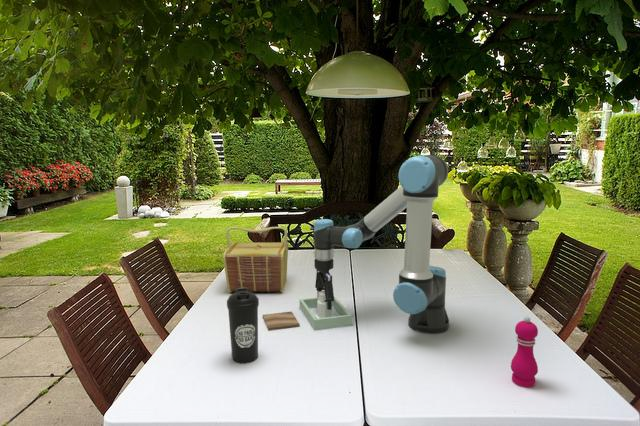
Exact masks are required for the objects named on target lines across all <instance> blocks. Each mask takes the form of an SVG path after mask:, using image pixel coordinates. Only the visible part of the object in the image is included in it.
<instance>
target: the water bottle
mask: <svg viewBox="0 0 640 426" xmlns="http://www.w3.org/2000/svg"><path fill="white" fill-rule="evenodd" d="M259 304H260V303H259V297H258V296H257V295H256V294H255V292H249V291H248V289H247V287H241V288H236V292H233V293H232V294H231V295H229V296H228V298H227V300H226V308H227V310H228V322H229V333H230V334H229V335H230V336H229V337H230V347H231V360H232V361H233V362H235V363H237V364H249V363H252V362H254V361H257V359H258V357H259V318H258V317H259V316H258V315H259V310H258V309H259V306H260V305H259Z"/></svg>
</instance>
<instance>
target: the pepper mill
mask: <svg viewBox="0 0 640 426" xmlns="http://www.w3.org/2000/svg"><path fill="white" fill-rule="evenodd" d="M514 332H515V335H516V337H515V338H516V343H517V349H516V352H515V354H514V356H513V358H512V360H511V362H510V369H511V371H512V375H511V381H512V383H513V384H515V385H516V386H520V387H522V388H533V387H534V386H535V385H536V377H535V376H536V375H537V374H538V373H539V367H538V363H537V361H536V358H535V355H534V346H535V345H536V338H537V336H538V334H539V329H538V327H537V325H536V324H535V323H534V322H532V321H531V318H530V316H524V318H523V320H521V321H519V322H517V323H516V324H515V328H514Z"/></svg>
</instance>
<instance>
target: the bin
mask: <svg viewBox="0 0 640 426" xmlns="http://www.w3.org/2000/svg"><path fill="white" fill-rule="evenodd" d="M314 308H316V309H317V296H316V297H307V298H300V299H299V309H300V311H301V312H302V314H303V315H304V317H305V319H306V320H307V321H308V323H309V324H310V326H311V327H312V329H313V330H314V331H321V330H330V329H335V328H343V327H351V326H353V315H352V313H350V311H348V310H347V308H346V307H345V306H344V305H343V304H342V303H341V302H340V301H339V300H338V299H337V298H336V297H335V296H334V301H332V309H334V310H335V311H336V312H337V314H338V313H339V314H338V315H335V316H334V315H333V317H326V318H317V317H316V315H315V314H314V313H313V312H312V310H311V309H314Z"/></svg>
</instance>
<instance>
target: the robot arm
mask: <svg viewBox="0 0 640 426" xmlns="http://www.w3.org/2000/svg"><path fill="white" fill-rule="evenodd" d="M448 175H449V167H448V165H447V163H446V161H445V160H444V159H443V158H442V157H441V156H438V155H435V154H428V155H415V156H413V157H410V158H409V159H407V160H405V161H404V162H403V163H402V165H401V166H400V168H399V171H398V181H399V184H400V185H401V186H399V187H398V188H397V189H396V190H395V191H393V192H392V193H391V194H389V196H387V198H385V199H384V200H383V201H382V202H380V203H378V205H377V206H376V207H374V209H371V211H369V213H368V214H366V215H365V216H364V217H363V218H362V219H361V220H359V221H358V222H356V223H354V224H350V225H347V226H337V225H334V221H333V220H332V219H328V218H323V219H316V220H315V221H314V225H313V238H314V239H313V240H314V244H313V245H314V249H313V252H312V254H314V262H313V263H314V269H315V270H316V274H315V275H316V277H315V285H314V287H315V288H316V297H317V301H318V300H319V292H322V291H324V292H325V298H326V300H324V302H325V317H332V314H333V307H332V301H334V297H335V294H334V287H333V275H332V274H331V273H330V270H332V269H333V268H334V254H335V253H334V252H335V251H334V247H341V248H348V249H358V248H360V246H361V245H362V243H363V242H364V241H368V240H370V239H371V238H373V237H374V236H375V234H376V233H377V232H378V231H379V230H381V228H383V227H384V226H386V224H388V223H390V221H391V220H393V219H394V218H395V217H398V215H400V214H401V213H402V212H403V211H404V210H405V209H406V220H405V236H404V237H405V241H404V257H403V258H404V259H403V268H402V269H401V270H400V271H399V273H398V284H397V285H396V286H395V288H394V290H393V293H392V296H393V301H394V303H395V305H396V306H397V307H398V308H399V310H400V311H402V312H404V313H405V314H408V315H409V316H408V318H407V319H408V324H407V325H408V327H409V328H410V329H411V330H413V331H416V332H419V333H424V334H440V333H445V332H447V331H448V330H449V328H450V320H449V316H448V313H447V310H446V286H447V285H446V284H447V275H446V274H447V271H446V269H444V268H443V267H440V266H435V265H430V261H431V259H430V257H431V244H432V243H431V242H432V227H433V226H432V225H433V224H432V223H433V208H434V206H433V205H434V201H435V200H437V199H438V197H439V187H440V186H442V185H443V184H444V183H445V182H446V180H447V178H448Z"/></svg>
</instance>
